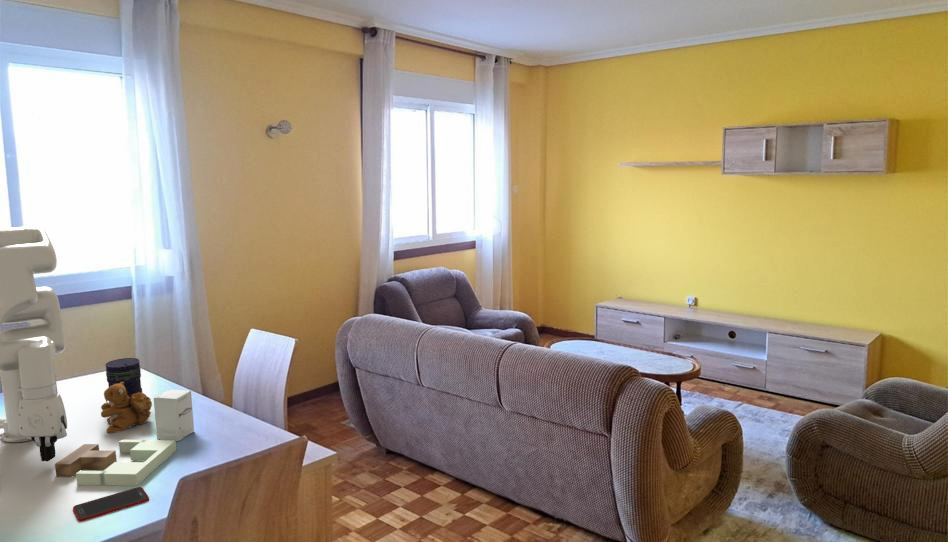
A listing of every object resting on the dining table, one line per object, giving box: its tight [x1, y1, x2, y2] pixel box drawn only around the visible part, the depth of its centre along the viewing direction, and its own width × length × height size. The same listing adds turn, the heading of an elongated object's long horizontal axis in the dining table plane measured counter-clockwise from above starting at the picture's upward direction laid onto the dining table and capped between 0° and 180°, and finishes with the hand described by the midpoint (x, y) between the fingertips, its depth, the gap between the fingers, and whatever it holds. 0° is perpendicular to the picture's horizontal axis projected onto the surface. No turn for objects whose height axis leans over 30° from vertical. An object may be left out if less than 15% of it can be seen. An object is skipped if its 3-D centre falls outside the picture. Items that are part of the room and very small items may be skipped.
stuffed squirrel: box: [100, 382, 153, 434], centre depth 202 cm, size 10×14×13 cm
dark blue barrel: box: [105, 357, 143, 397], centre depth 216 cm, size 10×10×15 cm
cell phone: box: [72, 486, 150, 522], centre depth 156 cm, size 8×15×1 cm, turn 130°
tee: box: [54, 443, 118, 478], centre depth 175 cm, size 11×12×4 cm
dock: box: [75, 439, 177, 487], centre depth 175 cm, size 15×20×3 cm
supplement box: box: [153, 389, 195, 442], centre depth 193 cm, size 7×7×13 cm
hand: (48, 459), depth 175 cm, fingers closed
